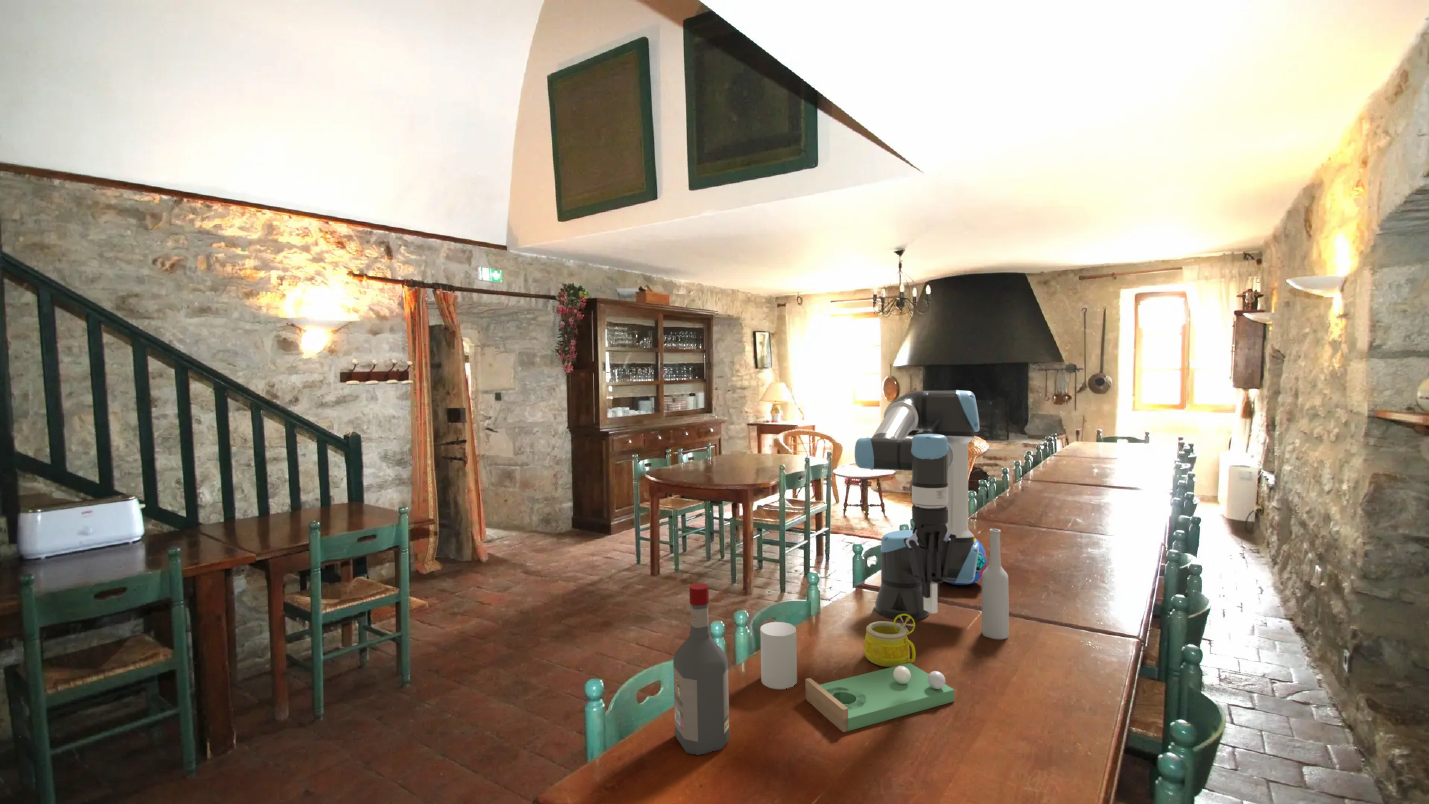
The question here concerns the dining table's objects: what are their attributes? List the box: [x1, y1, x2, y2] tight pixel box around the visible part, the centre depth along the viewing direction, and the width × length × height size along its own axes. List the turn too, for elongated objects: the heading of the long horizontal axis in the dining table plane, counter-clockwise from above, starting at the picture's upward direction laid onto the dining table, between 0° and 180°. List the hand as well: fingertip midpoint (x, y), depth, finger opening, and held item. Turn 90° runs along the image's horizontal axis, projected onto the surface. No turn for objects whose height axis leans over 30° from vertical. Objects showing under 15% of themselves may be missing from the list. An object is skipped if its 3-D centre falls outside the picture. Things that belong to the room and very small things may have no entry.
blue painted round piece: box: [945, 537, 988, 586], centre depth 210 cm, size 18×18×15 cm
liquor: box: [672, 582, 730, 756], centre depth 121 cm, size 9×9×30 cm
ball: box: [893, 666, 911, 684], centre depth 138 cm, size 4×4×4 cm
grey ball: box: [928, 670, 946, 689], centre depth 135 cm, size 4×4×4 cm
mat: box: [804, 662, 955, 733], centre depth 136 cm, size 14×28×4 cm, turn 113°
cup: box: [759, 621, 798, 690], centre depth 145 cm, size 8×8×12 cm
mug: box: [863, 614, 917, 668], centre depth 154 cm, size 13×11×12 cm
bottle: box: [981, 528, 1010, 640], centre depth 168 cm, size 7×7×28 cm
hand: (930, 611), depth 140 cm, fingers closed
